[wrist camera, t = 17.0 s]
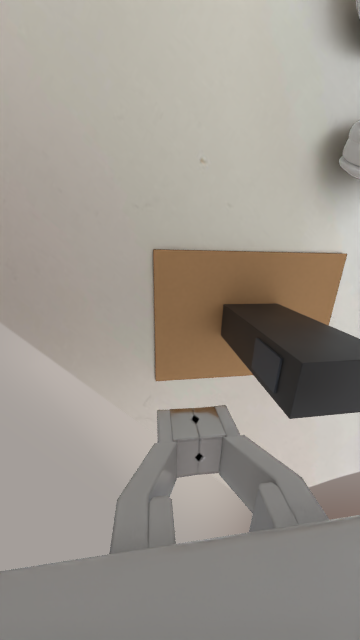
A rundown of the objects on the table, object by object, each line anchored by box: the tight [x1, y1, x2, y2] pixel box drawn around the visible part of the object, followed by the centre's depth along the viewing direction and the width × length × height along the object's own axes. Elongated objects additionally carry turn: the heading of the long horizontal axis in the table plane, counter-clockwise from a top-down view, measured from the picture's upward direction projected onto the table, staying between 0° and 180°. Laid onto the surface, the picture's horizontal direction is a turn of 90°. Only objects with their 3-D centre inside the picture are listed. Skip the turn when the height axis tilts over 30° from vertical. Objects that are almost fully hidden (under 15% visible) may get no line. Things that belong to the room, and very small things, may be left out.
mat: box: [153, 249, 347, 381], centre depth 23 cm, size 20×14×1 cm
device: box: [221, 303, 360, 419], centre depth 17 cm, size 6×4×12 cm, turn 89°
